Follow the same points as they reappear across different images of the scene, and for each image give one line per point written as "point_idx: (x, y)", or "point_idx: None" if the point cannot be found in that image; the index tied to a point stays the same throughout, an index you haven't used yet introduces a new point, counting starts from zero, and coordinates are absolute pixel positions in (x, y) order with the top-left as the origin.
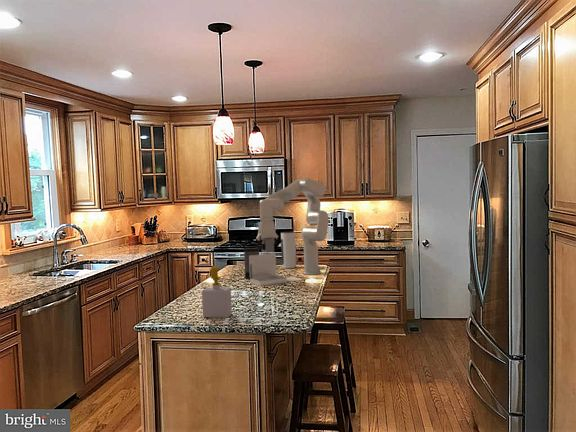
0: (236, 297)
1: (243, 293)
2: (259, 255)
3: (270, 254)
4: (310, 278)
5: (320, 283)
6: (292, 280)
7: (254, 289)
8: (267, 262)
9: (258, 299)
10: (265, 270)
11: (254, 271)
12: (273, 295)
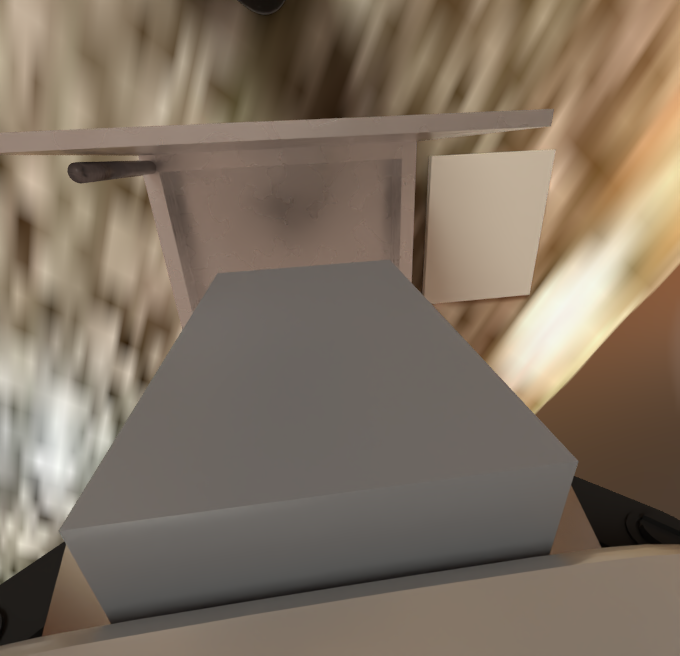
0: (3, 510)
1: (53, 448)
2: (209, 143)
3: (441, 130)
4: (606, 250)
5: (536, 408)
6: (461, 283)
7: (141, 383)
8: (351, 140)
9: None
10: (309, 145)
11: (170, 152)
12: None
